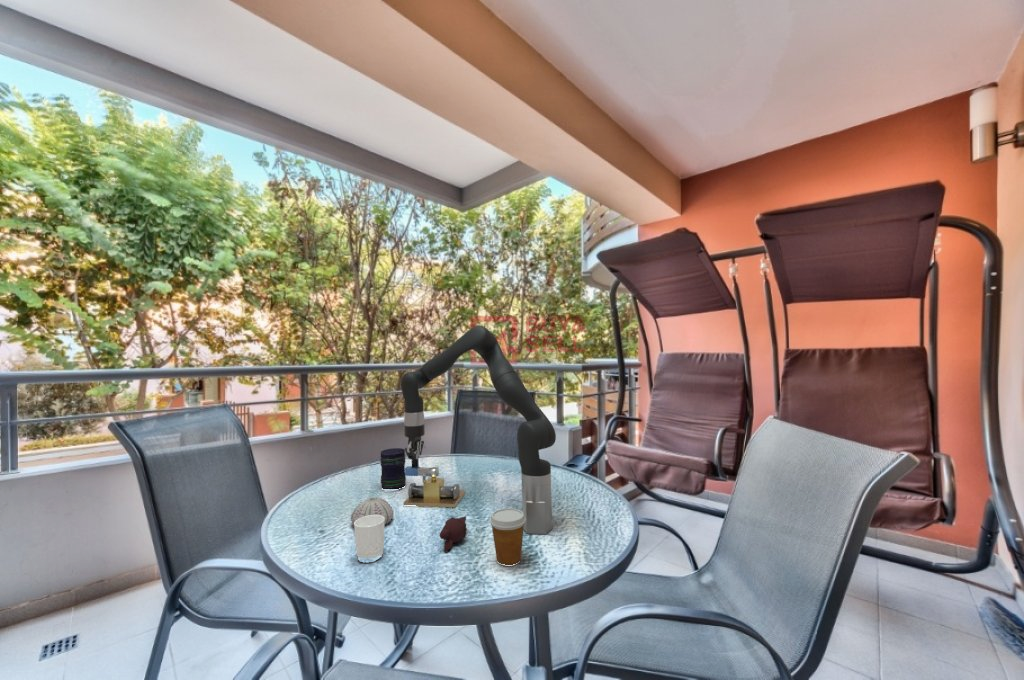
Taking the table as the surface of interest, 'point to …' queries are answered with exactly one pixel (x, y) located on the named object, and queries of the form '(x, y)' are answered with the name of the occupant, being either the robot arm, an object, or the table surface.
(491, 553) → the table surface
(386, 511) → the sea urchin shell
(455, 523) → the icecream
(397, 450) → the storage jar
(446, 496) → the valve
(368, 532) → the white cup
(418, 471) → the lever
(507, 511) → the disposable coffee cup
